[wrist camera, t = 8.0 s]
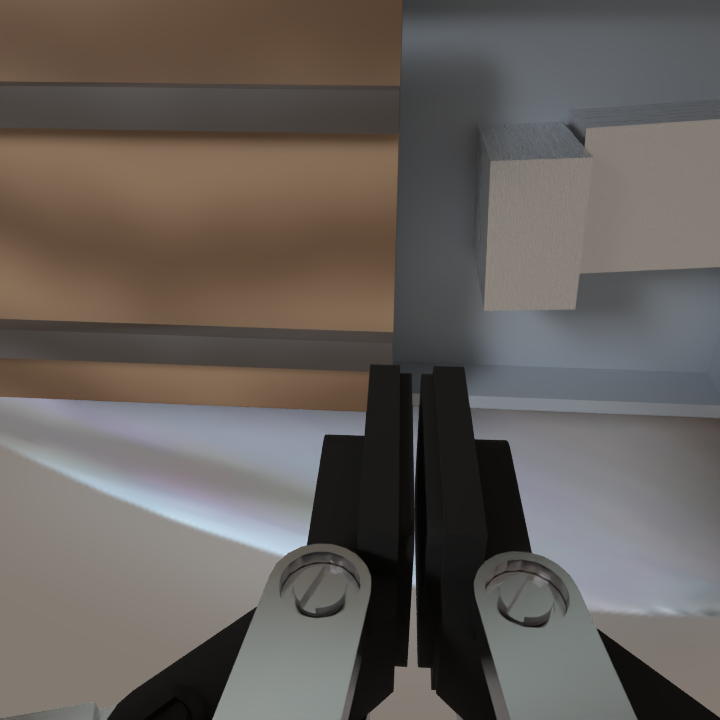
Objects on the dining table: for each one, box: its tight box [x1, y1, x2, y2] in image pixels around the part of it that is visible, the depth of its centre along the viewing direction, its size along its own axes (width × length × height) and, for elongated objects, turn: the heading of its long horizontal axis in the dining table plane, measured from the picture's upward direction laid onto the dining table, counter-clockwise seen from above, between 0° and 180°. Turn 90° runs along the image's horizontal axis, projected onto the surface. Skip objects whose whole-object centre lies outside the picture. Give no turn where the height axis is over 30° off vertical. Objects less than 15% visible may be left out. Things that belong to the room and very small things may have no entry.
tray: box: [393, 0, 720, 418], centre depth 25 cm, size 16×18×3 cm
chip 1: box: [473, 122, 594, 311], centre depth 23 cm, size 5×5×3 cm
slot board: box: [0, 0, 403, 412], centre depth 25 cm, size 14×20×6 cm
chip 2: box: [567, 99, 720, 274], centre depth 24 cm, size 5×5×3 cm
